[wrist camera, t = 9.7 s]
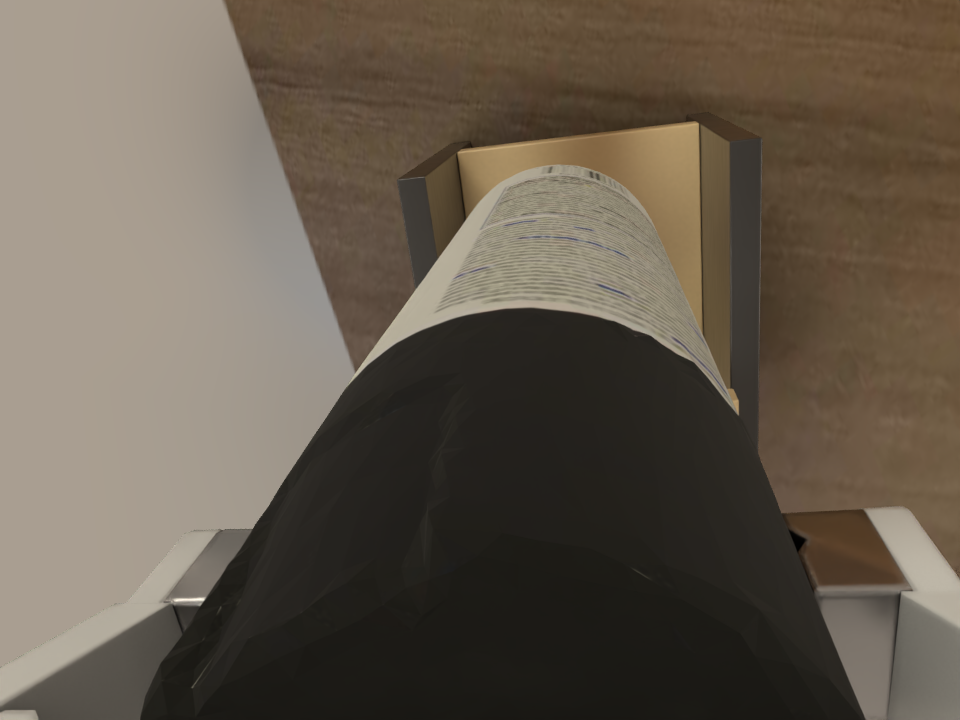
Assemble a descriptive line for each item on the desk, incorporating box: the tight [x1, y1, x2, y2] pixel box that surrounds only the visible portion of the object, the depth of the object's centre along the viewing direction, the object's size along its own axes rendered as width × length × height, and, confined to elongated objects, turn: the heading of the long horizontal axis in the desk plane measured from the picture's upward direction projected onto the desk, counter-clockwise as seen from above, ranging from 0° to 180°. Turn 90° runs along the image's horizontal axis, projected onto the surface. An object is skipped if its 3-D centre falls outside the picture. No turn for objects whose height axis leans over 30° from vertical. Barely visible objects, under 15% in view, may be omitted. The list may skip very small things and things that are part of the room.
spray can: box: [140, 165, 866, 720], centre depth 15 cm, size 7×7×20 cm
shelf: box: [397, 112, 762, 451], centre depth 37 cm, size 14×16×15 cm
